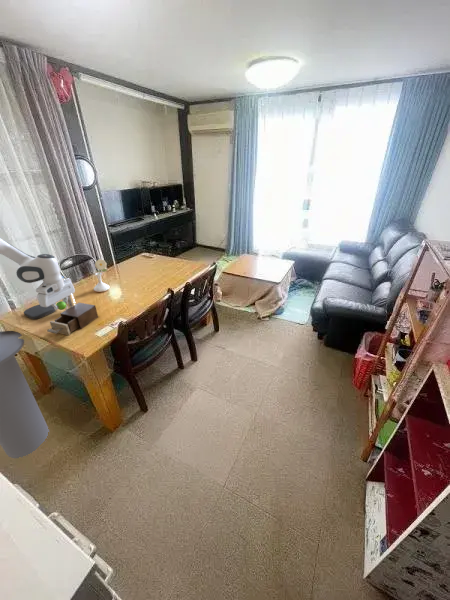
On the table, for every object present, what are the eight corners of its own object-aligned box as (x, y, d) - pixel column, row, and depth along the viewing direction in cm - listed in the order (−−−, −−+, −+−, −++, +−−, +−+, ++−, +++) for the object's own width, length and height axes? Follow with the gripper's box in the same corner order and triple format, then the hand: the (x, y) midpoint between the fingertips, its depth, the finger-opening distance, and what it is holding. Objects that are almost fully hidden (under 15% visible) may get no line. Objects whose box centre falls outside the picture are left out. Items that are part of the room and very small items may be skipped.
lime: (62, 311, 141) (59, 304, 139) (55, 310, 142) (52, 303, 140) (69, 307, 145) (67, 300, 143) (62, 306, 146) (60, 299, 144)
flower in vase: (92, 293, 194) (84, 262, 182) (96, 287, 204) (88, 257, 192) (110, 292, 197) (104, 261, 185) (113, 286, 206) (107, 256, 195)
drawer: (61, 340, 141) (58, 330, 138) (45, 336, 144) (41, 326, 141) (86, 323, 157) (83, 313, 154) (71, 320, 159) (68, 310, 156)
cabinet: (81, 329, 152) (77, 316, 148) (64, 325, 155) (60, 313, 151) (98, 317, 165) (95, 305, 161) (82, 313, 168) (78, 302, 164)
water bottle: (74, 307, 175) (64, 273, 163) (80, 310, 171) (70, 276, 160) (64, 311, 170) (53, 277, 158) (69, 315, 166) (58, 279, 155)
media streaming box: (34, 321, 159) (33, 316, 158) (22, 314, 165) (20, 310, 164) (58, 310, 171) (56, 307, 169) (45, 305, 177) (44, 301, 175)
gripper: (65, 276, 146) (71, 297, 153) (32, 290, 129) (40, 314, 135) (74, 277, 145) (80, 299, 151) (42, 292, 127) (50, 316, 134)
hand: (61, 306), depth 143 cm, fingers closed on lime, 4 cm apart
